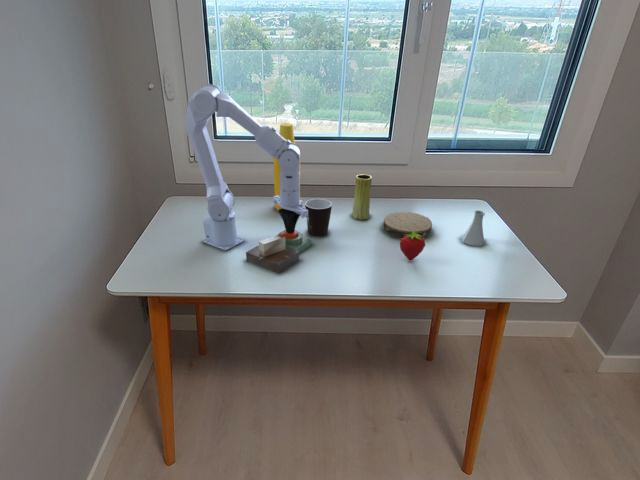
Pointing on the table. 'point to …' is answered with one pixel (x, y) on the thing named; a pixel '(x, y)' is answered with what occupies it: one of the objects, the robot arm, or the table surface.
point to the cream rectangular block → (272, 245)
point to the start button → (290, 234)
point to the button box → (297, 242)
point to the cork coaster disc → (407, 224)
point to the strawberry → (412, 245)
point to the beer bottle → (287, 134)
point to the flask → (475, 230)
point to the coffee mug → (318, 216)
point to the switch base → (273, 259)
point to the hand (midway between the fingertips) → (290, 231)
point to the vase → (362, 197)
